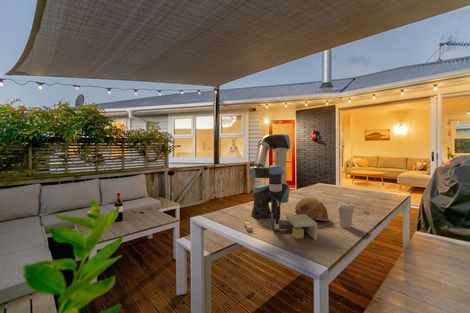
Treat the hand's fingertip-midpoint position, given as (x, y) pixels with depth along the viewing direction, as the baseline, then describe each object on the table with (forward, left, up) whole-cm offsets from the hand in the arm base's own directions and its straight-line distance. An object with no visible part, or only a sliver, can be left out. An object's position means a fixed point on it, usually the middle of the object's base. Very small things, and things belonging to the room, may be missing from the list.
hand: (275, 227), depth 141 cm
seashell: (-17, +31, -3) cm, 35 cm away
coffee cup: (0, +47, -3) cm, 47 cm away
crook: (+3, +7, -1) cm, 8 cm away
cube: (+10, +11, -3) cm, 15 cm away
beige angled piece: (+8, +13, -2) cm, 15 cm away
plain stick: (-6, -16, -3) cm, 18 cm away
